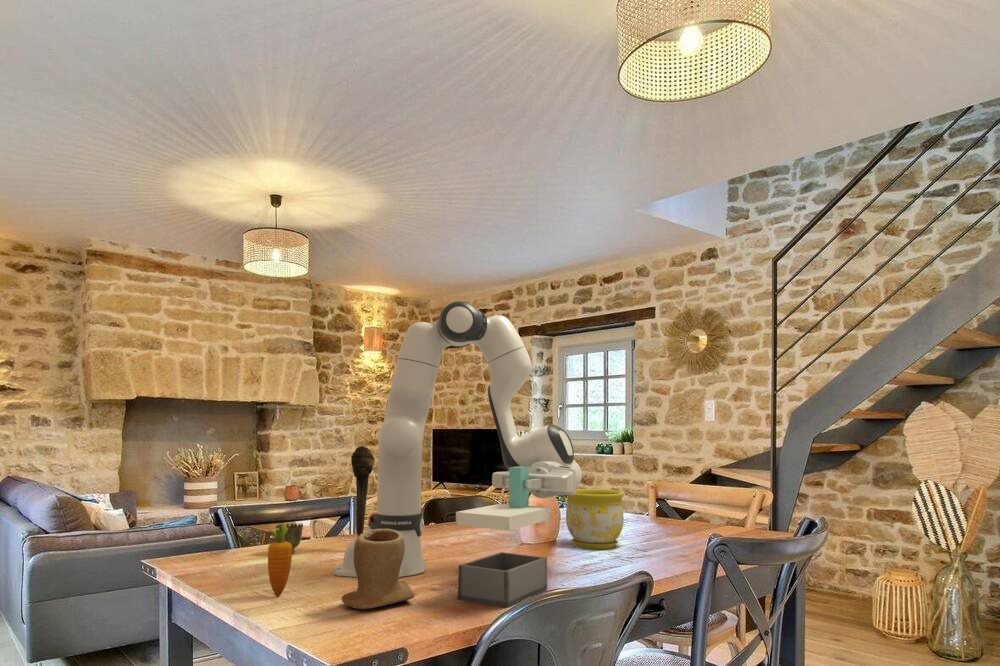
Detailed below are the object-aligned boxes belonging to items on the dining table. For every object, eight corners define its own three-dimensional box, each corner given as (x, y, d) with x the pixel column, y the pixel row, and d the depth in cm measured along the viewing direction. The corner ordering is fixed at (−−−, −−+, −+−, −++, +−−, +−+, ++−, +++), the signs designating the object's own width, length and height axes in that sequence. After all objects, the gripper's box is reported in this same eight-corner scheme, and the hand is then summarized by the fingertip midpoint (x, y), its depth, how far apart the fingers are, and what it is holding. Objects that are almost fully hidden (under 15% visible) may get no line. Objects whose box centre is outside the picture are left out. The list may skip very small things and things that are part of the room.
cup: (296, 556, 186) (298, 526, 187) (270, 556, 186) (272, 526, 187) (304, 551, 193) (306, 523, 194) (279, 551, 193) (280, 522, 194)
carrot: (276, 601, 139) (280, 526, 141) (260, 597, 142) (264, 524, 144) (295, 596, 144) (298, 524, 146) (279, 592, 146) (283, 522, 148)
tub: (507, 607, 137) (507, 572, 137) (458, 599, 143) (458, 565, 144) (546, 589, 152) (546, 557, 153) (501, 582, 158) (501, 552, 159)
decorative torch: (374, 552, 193) (378, 446, 197) (351, 554, 190) (356, 446, 194) (366, 548, 199) (369, 445, 203) (343, 550, 195) (348, 446, 199)
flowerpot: (554, 546, 206) (555, 491, 208) (582, 538, 221) (582, 487, 223) (608, 553, 196) (608, 496, 198) (633, 544, 211) (633, 491, 213)
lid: (508, 530, 138) (509, 472, 139) (455, 524, 144) (456, 469, 146) (550, 519, 154) (550, 467, 156) (500, 515, 161) (501, 465, 162)
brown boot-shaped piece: (363, 618, 128) (366, 537, 130) (334, 605, 137) (337, 529, 139) (428, 605, 138) (430, 529, 140) (397, 593, 147) (399, 523, 149)
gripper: (508, 465, 173) (479, 467, 161) (581, 468, 162) (556, 471, 150) (507, 490, 172) (478, 494, 160) (581, 495, 161) (556, 500, 150)
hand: (517, 483), depth 155 cm, fingers closed on lid, 3 cm apart
